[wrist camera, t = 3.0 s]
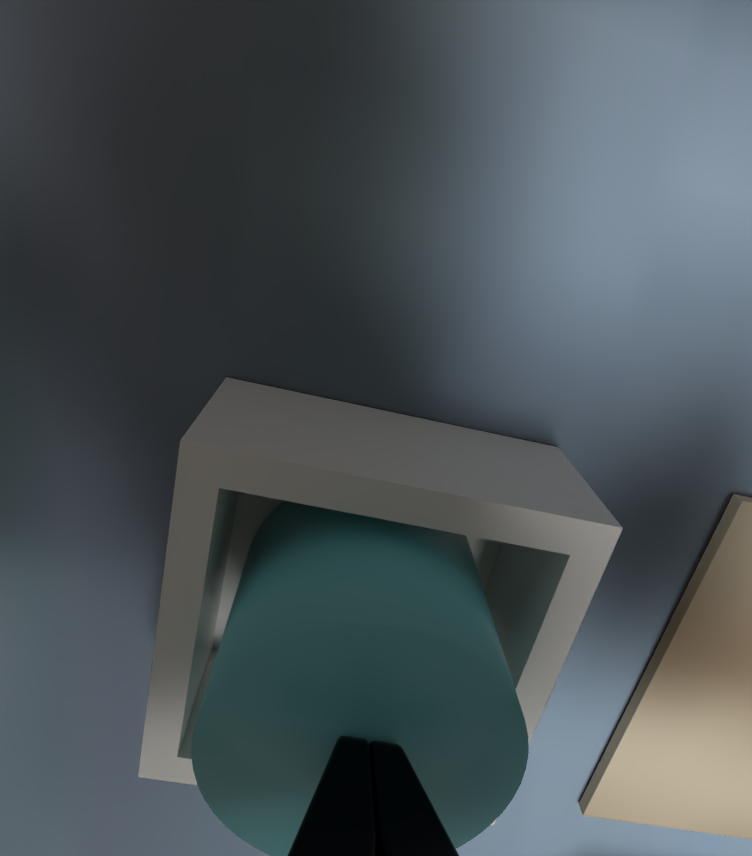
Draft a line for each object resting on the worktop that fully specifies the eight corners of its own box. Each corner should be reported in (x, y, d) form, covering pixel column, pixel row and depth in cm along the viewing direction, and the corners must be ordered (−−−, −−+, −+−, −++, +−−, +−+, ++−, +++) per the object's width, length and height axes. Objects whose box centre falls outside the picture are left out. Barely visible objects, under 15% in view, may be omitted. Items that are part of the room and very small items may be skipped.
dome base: (466, 697, 14) (493, 825, 11) (185, 652, 13) (138, 777, 10) (558, 447, 12) (622, 528, 9) (226, 377, 11) (180, 439, 8)
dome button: (439, 682, 13) (474, 888, 9) (230, 648, 12) (173, 851, 8) (502, 501, 11) (576, 658, 7) (266, 454, 11) (215, 595, 7)
